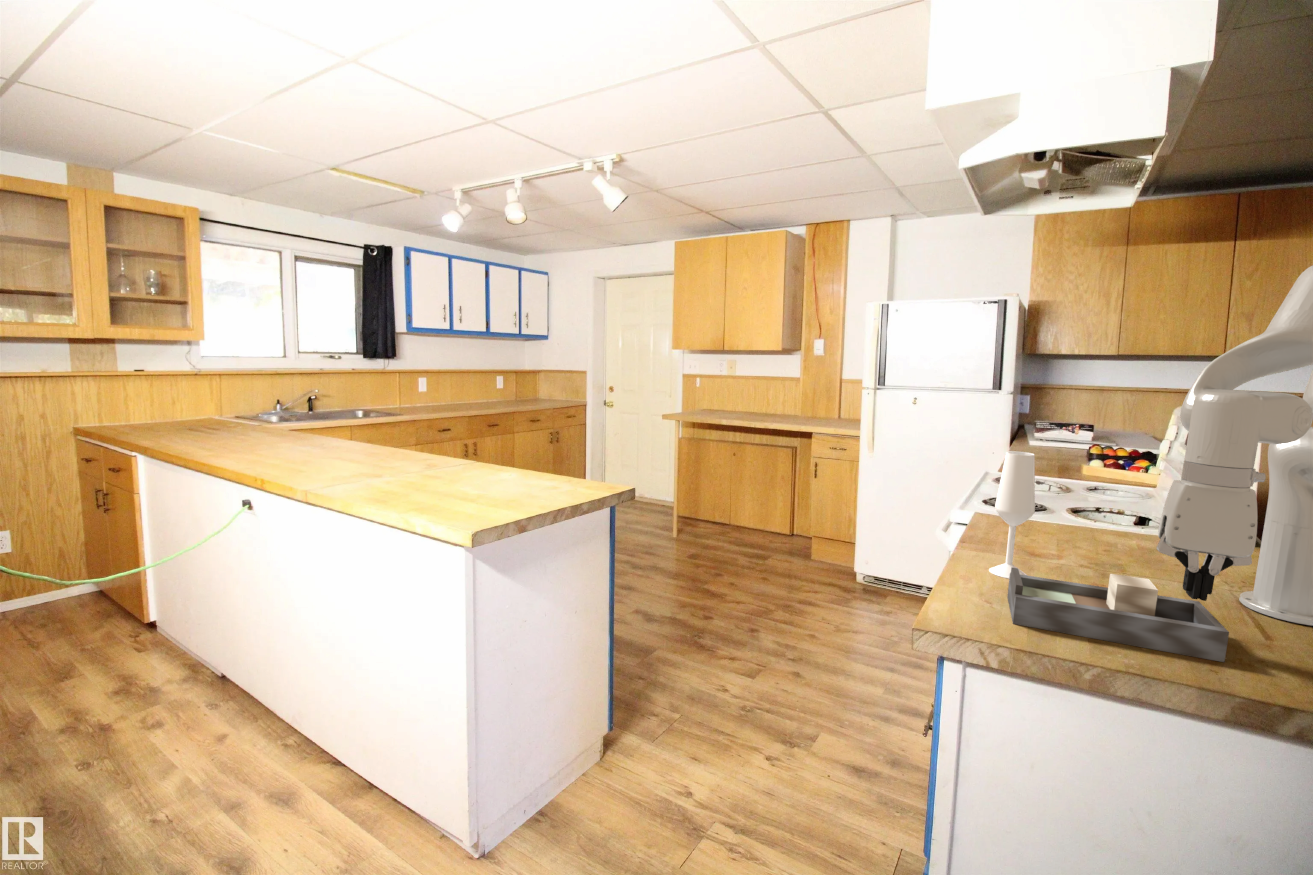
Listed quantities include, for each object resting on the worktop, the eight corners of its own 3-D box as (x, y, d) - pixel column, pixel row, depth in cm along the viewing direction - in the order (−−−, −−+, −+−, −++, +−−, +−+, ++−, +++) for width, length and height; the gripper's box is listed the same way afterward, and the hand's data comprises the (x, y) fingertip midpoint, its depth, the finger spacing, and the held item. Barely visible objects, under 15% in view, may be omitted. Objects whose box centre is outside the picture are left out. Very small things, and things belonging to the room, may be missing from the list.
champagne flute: (992, 564, 125) (1003, 449, 121) (1030, 572, 120) (1043, 453, 117) (985, 573, 120) (996, 453, 116) (1024, 582, 115) (1038, 457, 112)
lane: (1194, 628, 97) (1200, 592, 96) (1224, 662, 86) (1230, 622, 85) (1007, 597, 108) (1010, 564, 107) (1012, 623, 97) (1016, 587, 96)
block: (1144, 609, 96) (1148, 579, 96) (1153, 621, 92) (1158, 589, 91) (1106, 602, 99) (1110, 573, 98) (1113, 614, 94) (1117, 583, 93)
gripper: (1272, 478, 89) (1250, 598, 91) (1144, 466, 95) (1127, 579, 97) (1298, 487, 82) (1274, 617, 84) (1159, 474, 88) (1140, 594, 91)
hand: (1195, 596), depth 91 cm, fingers closed
